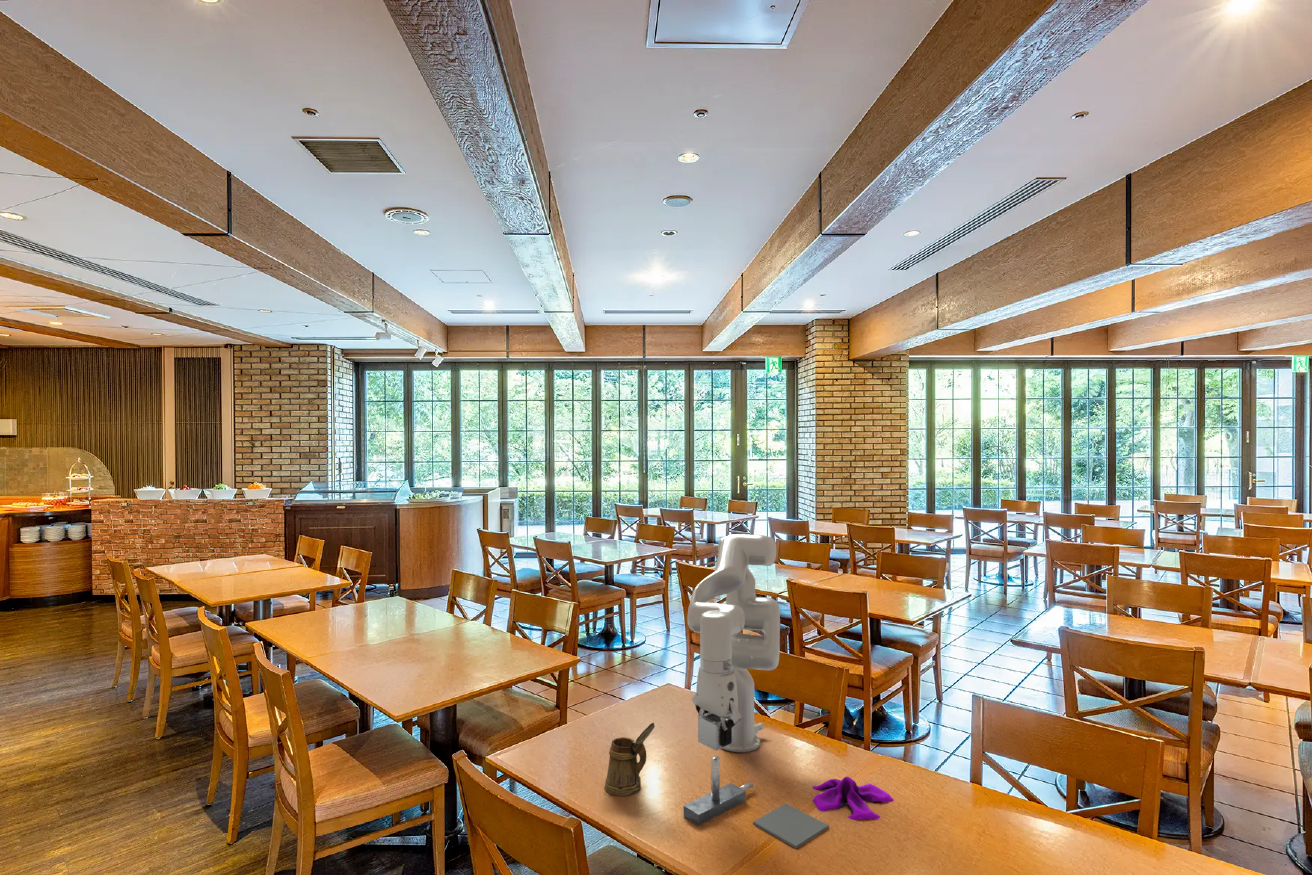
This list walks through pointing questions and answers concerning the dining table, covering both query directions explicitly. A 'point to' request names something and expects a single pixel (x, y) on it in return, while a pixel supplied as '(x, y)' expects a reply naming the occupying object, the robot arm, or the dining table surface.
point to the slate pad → (791, 825)
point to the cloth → (849, 797)
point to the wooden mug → (626, 764)
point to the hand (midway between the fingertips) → (715, 738)
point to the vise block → (715, 798)
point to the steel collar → (711, 731)
